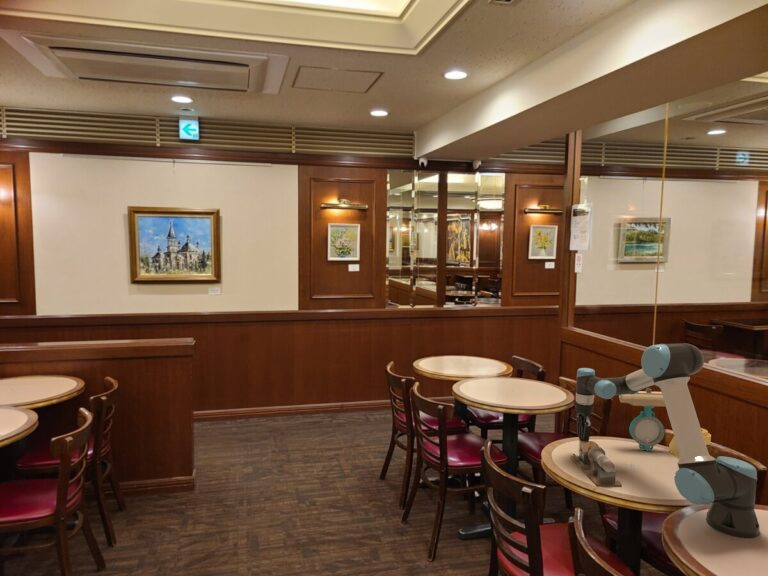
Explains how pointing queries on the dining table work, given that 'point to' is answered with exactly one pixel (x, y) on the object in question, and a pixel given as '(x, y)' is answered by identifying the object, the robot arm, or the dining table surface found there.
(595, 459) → the pipe jig
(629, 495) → the dining table surface
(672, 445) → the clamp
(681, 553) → the dining table surface
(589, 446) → the coupling
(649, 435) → the butterfly valve
